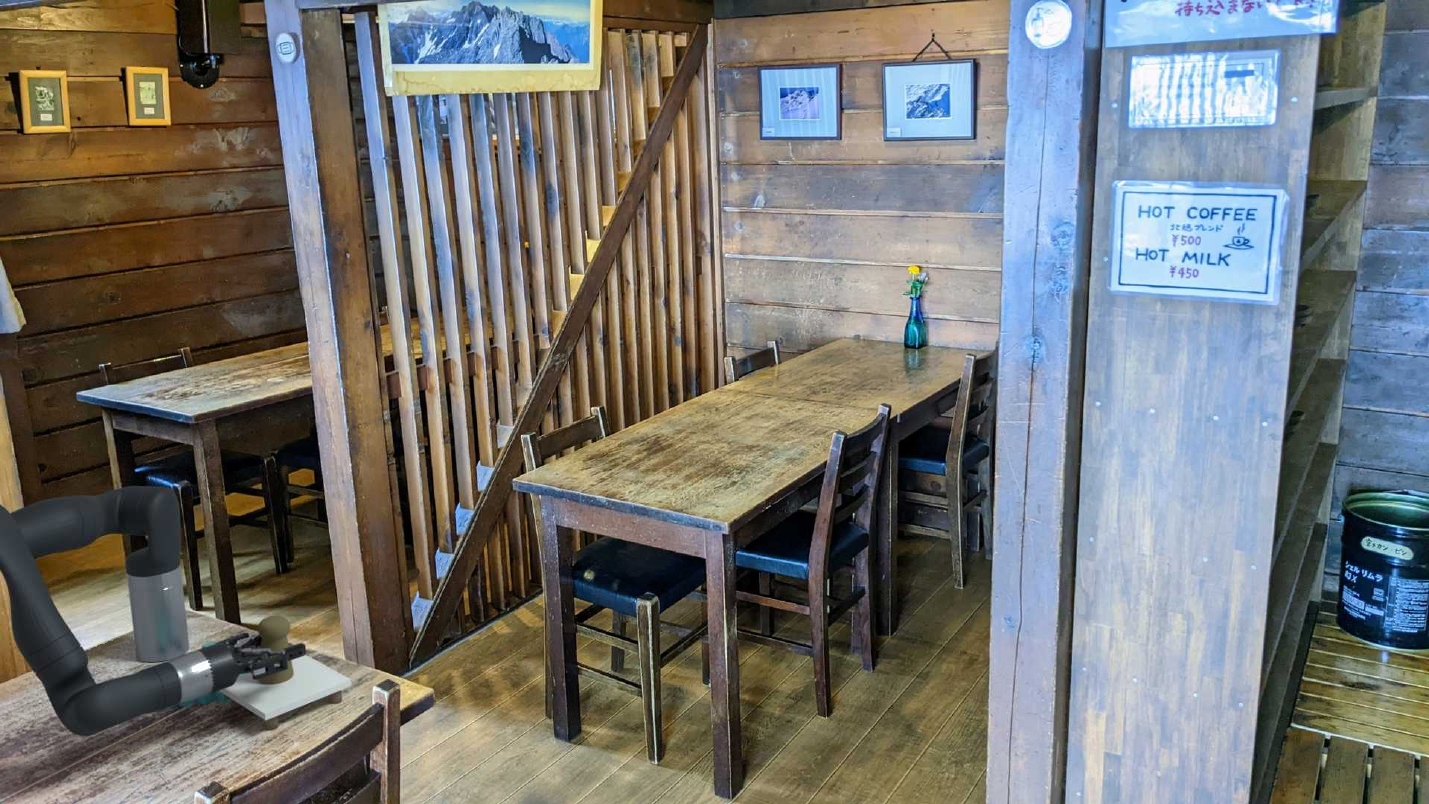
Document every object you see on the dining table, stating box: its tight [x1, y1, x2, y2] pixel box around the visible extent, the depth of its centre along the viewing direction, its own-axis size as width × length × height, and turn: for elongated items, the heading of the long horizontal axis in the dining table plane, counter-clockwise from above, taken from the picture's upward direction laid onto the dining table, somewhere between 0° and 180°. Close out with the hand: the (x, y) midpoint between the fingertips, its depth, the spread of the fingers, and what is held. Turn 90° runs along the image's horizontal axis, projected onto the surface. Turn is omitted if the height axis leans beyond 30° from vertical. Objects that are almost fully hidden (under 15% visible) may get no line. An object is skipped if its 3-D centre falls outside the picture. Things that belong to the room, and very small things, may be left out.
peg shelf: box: [219, 654, 352, 731], centre depth 194 cm, size 16×16×4 cm
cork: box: [257, 615, 294, 684], centre depth 194 cm, size 6×6×11 cm
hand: (291, 641), depth 193 cm, fingers open, 8 cm apart
